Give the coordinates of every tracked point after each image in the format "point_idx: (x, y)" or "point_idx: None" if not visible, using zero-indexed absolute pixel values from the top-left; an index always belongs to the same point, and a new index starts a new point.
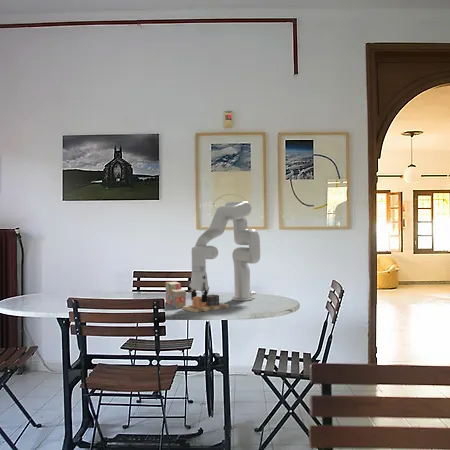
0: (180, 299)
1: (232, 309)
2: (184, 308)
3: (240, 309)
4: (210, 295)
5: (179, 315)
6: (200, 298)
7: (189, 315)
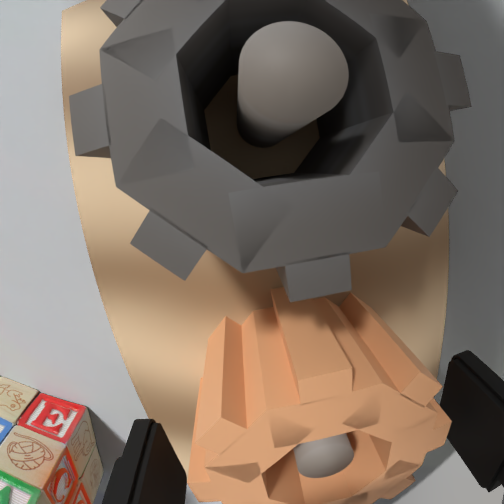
0: (71, 499)
1: (485, 44)
2: None
3: (500, 6)
4: (181, 98)
5: (392, 499)
6: (420, 464)
7: (440, 460)
